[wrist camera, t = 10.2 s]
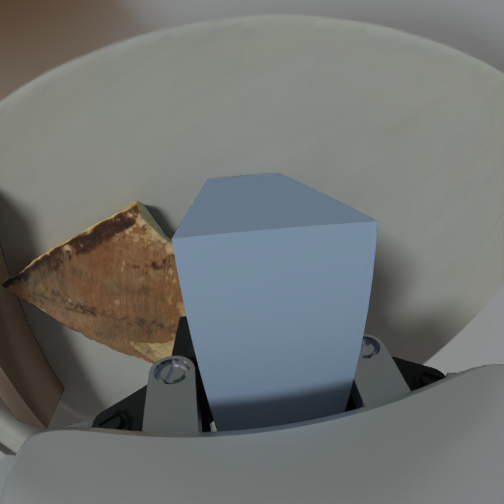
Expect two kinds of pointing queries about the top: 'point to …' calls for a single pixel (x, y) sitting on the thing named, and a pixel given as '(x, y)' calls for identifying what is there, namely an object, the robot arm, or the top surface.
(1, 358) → the bar
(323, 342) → the block
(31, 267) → the shard
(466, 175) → the top surface
